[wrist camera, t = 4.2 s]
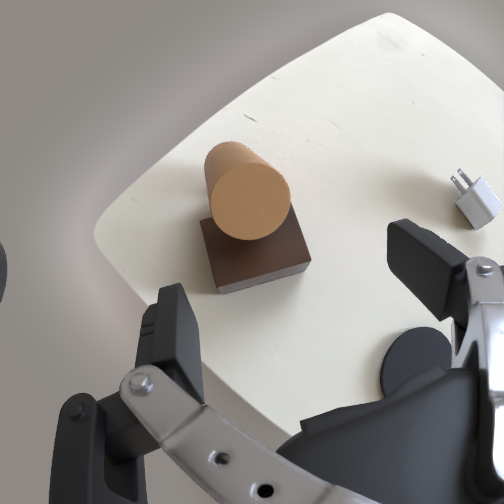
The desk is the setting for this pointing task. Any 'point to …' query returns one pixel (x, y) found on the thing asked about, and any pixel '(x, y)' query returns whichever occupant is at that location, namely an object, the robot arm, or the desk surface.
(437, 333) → the coaster
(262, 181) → the tan cylinder
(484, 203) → the usb wall charger
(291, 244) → the walnut block
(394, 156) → the desk surface
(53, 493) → the robot arm
